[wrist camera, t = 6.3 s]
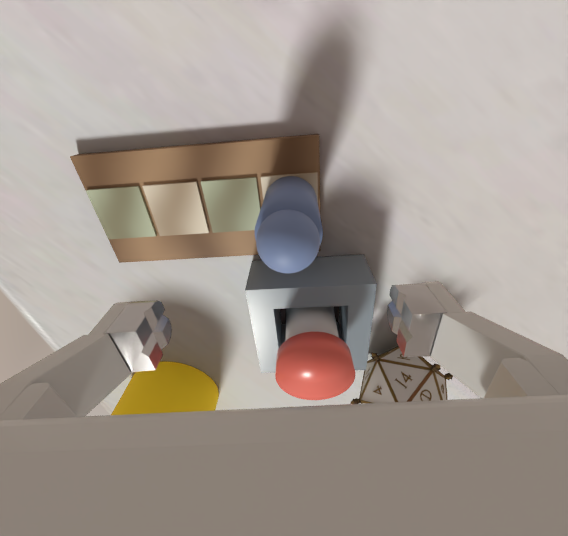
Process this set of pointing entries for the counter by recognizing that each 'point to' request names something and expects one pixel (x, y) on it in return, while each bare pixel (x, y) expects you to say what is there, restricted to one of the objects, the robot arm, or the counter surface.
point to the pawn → (289, 225)
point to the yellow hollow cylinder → (168, 391)
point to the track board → (191, 194)
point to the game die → (401, 379)
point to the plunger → (313, 355)
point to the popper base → (312, 303)
